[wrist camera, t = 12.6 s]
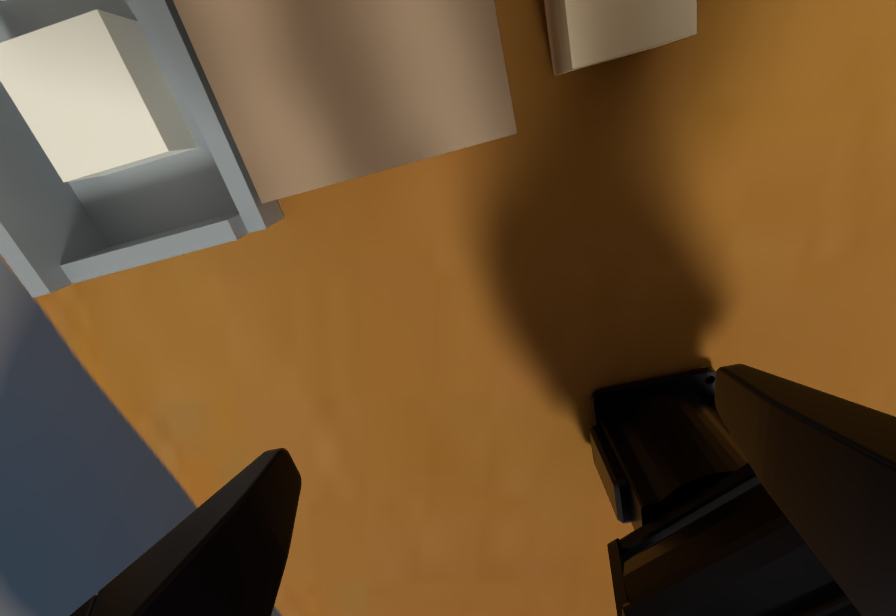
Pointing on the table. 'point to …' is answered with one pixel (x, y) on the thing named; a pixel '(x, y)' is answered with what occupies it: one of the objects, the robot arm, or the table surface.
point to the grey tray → (121, 172)
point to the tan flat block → (350, 83)
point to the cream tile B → (94, 95)
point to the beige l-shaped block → (613, 29)
